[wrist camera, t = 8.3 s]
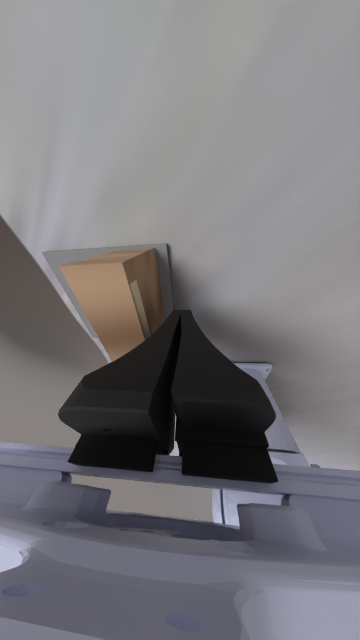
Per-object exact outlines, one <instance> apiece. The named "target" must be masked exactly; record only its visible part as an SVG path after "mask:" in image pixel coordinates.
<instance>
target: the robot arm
mask: <svg viewBox="0 0 360 640" xmlns="http://www.w3.org/2000/svg"><path fill="white" fill-rule="evenodd" d="M272 368H273V367H272V365H271V364H268V363H232V362H231V361H230V360H229V359H228V358H226V357H225V356H224V355H223V354H222V353H221V352H220V351H219V350H218V349H217V348H216V347H215V346H214V345H213V344H212V343H211V342H210V341H209V340H208V339H207V337H206V336H205V335H204V334H203V332H202V331H201V329H200V328H199V326H198V325H197V323H196V321H195V320H194V317H193V315H192V312H191V310H173V311H172V312H171V314H170V315H169V316H168V318H167V319H166V320H165V321H164V322H163V324H162V325H161V326H160V327H159V328H158V329H157V330H156V331H155V332H154V333H153V334H152V335H151V336H150V337H148V338H147V339H146V340H145V341H144V342H142V343H141V344H139V345H138V346H137V347H135V348H134V349H132V350H131V351H129V352H128V353H126V354H125V355H123V356H121V357H120V358H118V359H116V360H115V361H113V362H111V363H109V364H108V365H105V366H103V367H101V368H100V369H98V370H96V371H94V372H92V373H90V374H88V375H86V376H84V377H83V379H82V380H81V381H80V383H79V384H78V385H77V387H76V388H75V390H74V391H73V392H72V394H71V395H70V396H69V398H68V399H67V400H66V402H65V403H64V405H63V406H62V407H61V409H60V410H59V413H58V416H59V418H60V420H61V421H62V422H64V423H65V424H66V425H68V426H69V427H71V428H73V429H74V430H76V431H77V432H79V433H80V434H82V435H81V437H80V439H79V441H78V442H77V444H76V446H75V448H70V447H59V446H46V445H33V444H22V443H10V442H0V640H360V471H353V470H341V469H329V468H321V467H320V466H319V465H317V464H310V465H311V467H309V465H308V463H307V461H306V459H305V457H304V455H303V454H302V453H301V452H300V450H299V448H298V446H297V444H296V442H295V440H294V438H293V436H292V434H291V432H290V430H289V428H288V426H287V424H286V422H285V420H284V418H283V416H282V414H281V412H280V410H279V408H278V406H277V404H276V402H275V400H274V398H273V396H272V394H271V392H270V390H269V388H268V386H267V384H266V382H265V380H266V378H267V377H268V375H269V373H270V371H271V370H272ZM175 413H176V431H175ZM174 433H175V441H177V444H178V448H179V456H169V454H170V453H171V452H172V450H173V449H174ZM70 474H74V475H84V476H95V477H104V478H115V479H125V480H134V481H144V482H155V483H164V484H175V485H184V486H194V487H204V488H213V494H212V505H213V520H214V522H208V521H200V520H193V519H186V518H178V517H170V516H160V515H152V514H143V513H132V512H123V511H113V510H106V508H107V504H108V501H109V497H110V494H111V491H110V490H108V489H102V488H96V487H91V486H87V485H79V484H72V483H71V478H72V477H71V475H70Z"/></svg>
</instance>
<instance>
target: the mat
mask: <svg viewBox="0 0 360 640" xmlns="http://www.w3.org/2000/svg"><path fill="white" fill-rule="evenodd" d="M141 248H154V249H155V256H156V262H157V269H158V275H159V282H160V288H161V295H162V301H163V308H164V314H165V320H166V319H167V318H168V316H169V315H170V314H171V312H172V311H173V310H174V307H173V298H172V288H171V278H170V268H169V258H168V249H167V244H152V245H137V246H122V247H107V248H92V249H77V250H62V251H47V252H42V253H43V255H44V257H45V258H46V260H47V262H48V264H49V265H50V267H51V269H52V270H53V272H54V274H55V275H56V277H57V279H58V280H59V282H60V284H61V285H62V287H63V289H64V290H65V292H66V294H67V295H68V297H69V299H70V300H71V302H72V304H73V305H74V307H75V309H76V310H77V312H78V314H79V315H80V317H81V319H82V320H83V322H84V324H85V325H86V327H87V329H88V330H89V332H90V334H91V335H92V337H93V338H99V337H98V336H97V334H96V332H95V330H94V328H93V327H92V325H91V323H90V321H89V320H88V318H87V316H86V314H85V313H84V311H83V309H82V307H81V306H80V304H79V302H78V300H77V298H76V297H75V295H74V293H73V291H72V290H71V288H70V286H69V284H68V283H67V281H66V279H65V277H64V276H63V274H62V272H61V270H60V268H59V267H58V266H61V265H65V264H68V263H72V262H76V261H80V260H83V259H87V258H91V257H94V256H98V255H102V254H106V253H109V252H113V251H117V250H125V249H141Z"/></svg>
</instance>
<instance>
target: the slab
mask: <svg viewBox="0 0 360 640" xmlns="http://www.w3.org/2000/svg"><path fill="white" fill-rule="evenodd" d="M58 267H59V268H60V270H61V272H62V274H63V276H64V277H65V279H66V281H67V283H68V284H69V286H70V288H71V290H72V291H73V293H74V295H75V297H76V298H77V300H78V302H79V304H80V306H81V307H82V309H83V311H84V313H85V314H86V316H87V318H88V320H89V321H90V323H91V325H92V327H93V328H94V330H95V332H96V334H97V336H98V337H99V339H100V341H101V343H102V344H103V346H104V348H105V350H106V351H107V353H108V355H109V357H110V359H111V360H112V362H113V361H115V360H116V359H118V358H120V357H121V356H123V355H125V354H126V353H128V352H129V351H131V350H132V349H134V348H135V347H137V346H138V345H139V344H141V343H142V342H144V341H145V340H146V339H147V338H148V337H150V336H151V335H152V334H153V333H154V332H155V331H156V330H157V329H158V328H159V327H160V326H161V325H162V324H163V322H164V321H165V314H164V308H163V301H162V295H161V288H160V282H159V275H158V269H157V262H156V256H155V249H154V248H141V249H125V250H117V251H113V252H109V253H106V254H102V255H98V256H94V257H91V258H87V259H83V260H80V261H76V262H72V263H68V264H65V265H61V266H58Z"/></svg>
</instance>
